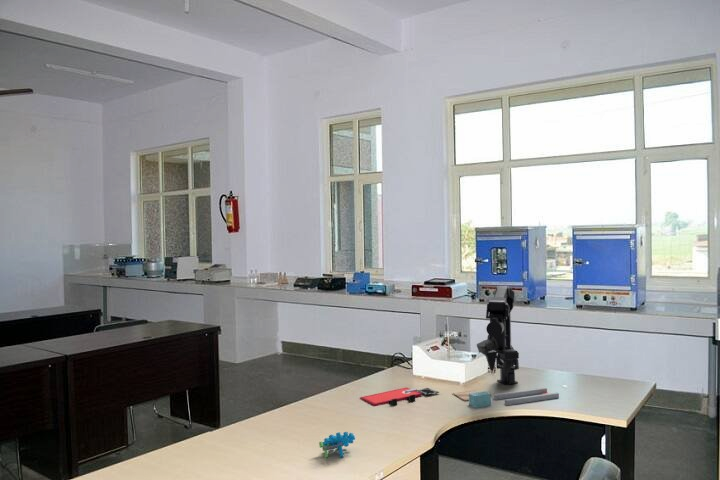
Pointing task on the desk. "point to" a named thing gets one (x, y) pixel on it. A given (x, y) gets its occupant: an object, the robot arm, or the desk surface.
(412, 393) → the red board with handle
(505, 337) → the robot arm
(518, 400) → the channel
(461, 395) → the walnut pad
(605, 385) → the desk surface
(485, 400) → the teal block
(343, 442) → the blue plastic figure
